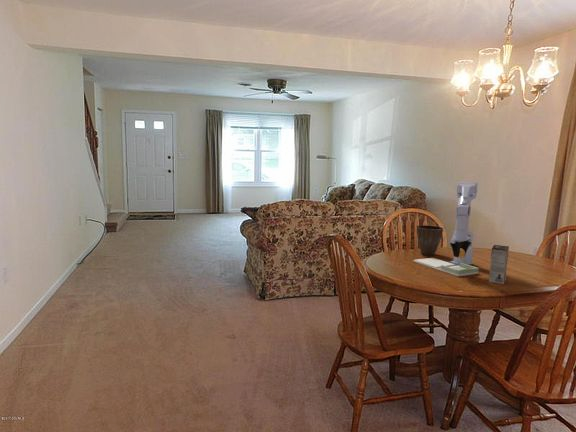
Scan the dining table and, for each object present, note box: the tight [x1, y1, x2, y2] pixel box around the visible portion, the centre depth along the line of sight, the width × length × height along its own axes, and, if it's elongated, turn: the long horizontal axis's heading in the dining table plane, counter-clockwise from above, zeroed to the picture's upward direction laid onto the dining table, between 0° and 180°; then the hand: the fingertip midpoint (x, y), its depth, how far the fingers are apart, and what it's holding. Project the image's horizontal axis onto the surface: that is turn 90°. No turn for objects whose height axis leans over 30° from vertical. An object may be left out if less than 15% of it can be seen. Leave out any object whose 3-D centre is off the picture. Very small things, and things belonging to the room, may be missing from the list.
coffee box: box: [488, 244, 510, 285], centre depth 183 cm, size 9×6×16 cm
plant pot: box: [416, 224, 444, 256], centre depth 235 cm, size 15×15×16 cm
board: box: [413, 257, 480, 277], centre depth 206 cm, size 14×30×3 cm, turn 25°
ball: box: [457, 249, 465, 258], centre depth 197 cm, size 5×5×5 cm
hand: (459, 256), depth 197 cm, fingers closed on ball, 5 cm apart
